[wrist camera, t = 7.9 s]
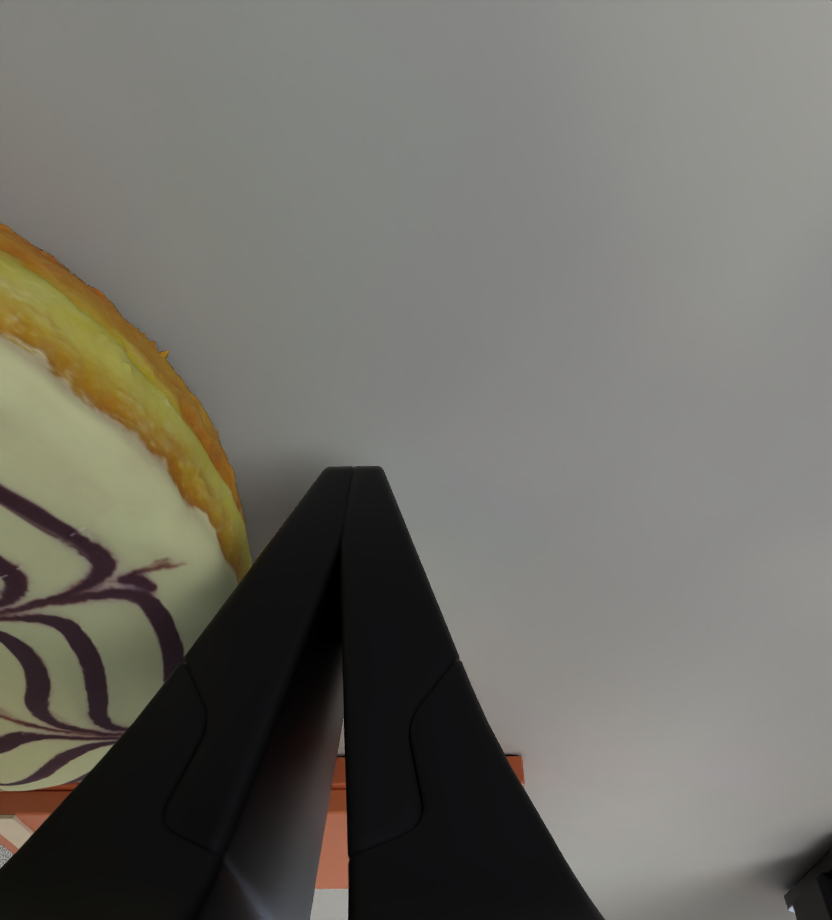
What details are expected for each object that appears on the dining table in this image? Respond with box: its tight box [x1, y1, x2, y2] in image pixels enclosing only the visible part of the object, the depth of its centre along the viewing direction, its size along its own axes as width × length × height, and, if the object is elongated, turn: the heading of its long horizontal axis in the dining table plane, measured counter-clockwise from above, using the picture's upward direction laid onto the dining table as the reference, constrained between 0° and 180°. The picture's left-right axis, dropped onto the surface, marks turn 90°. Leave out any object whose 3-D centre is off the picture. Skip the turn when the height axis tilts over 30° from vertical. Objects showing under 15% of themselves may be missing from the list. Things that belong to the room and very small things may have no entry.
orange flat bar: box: [0, 756, 524, 889], centre depth 20 cm, size 14×6×1 cm, turn 92°
